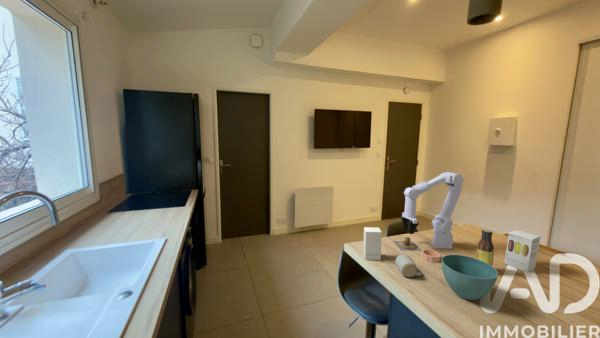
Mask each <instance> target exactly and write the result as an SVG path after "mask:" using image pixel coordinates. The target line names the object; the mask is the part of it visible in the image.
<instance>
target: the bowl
mask: <svg viewBox="0 0 600 338" xmlns="http://www.w3.org/2000/svg"><path fill="white" fill-rule="evenodd" d="M421 250H422V251H420V253H421V254H420V257H421V258H422V260H424V261H426V262H429V263H432V264H433V263H441V259H442V258H441V257H442V256H441V253H440V252H438V251H436V250H433V249H431V248H430V249H429V248H423V249H421Z"/></svg>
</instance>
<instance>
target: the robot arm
mask: <svg viewBox="0 0 600 338" xmlns="http://www.w3.org/2000/svg"><path fill="white" fill-rule="evenodd" d="M464 181H465V179H464V177H463V175H462V174H460V173H456V172H450V171H444V172H442V173H440V174H439V175H437V176H436V177H434V178H432V179H431V180H429V181H419V183H418V184H416V185H412V187H406V188H405V189H404V191H403V195H404V198H405V201H404V211H403V212H401V216H400V220H401V223H402V227H403V230H408V233H409V235H414V234H415V231H416V229H417V227H418V226H419V222H418V219H417V217H416V210H417V209H416V208H417V199H418V198H419V197H420V195H423V194H425V193H426V192H429V191H430V188H433V187H435V186H438V185H440V184H442V183H444V184H446V186H447V187H448V189H449V190H448V193H447V195H446V198H445V200H444V203H443V205H442V208H441V211H440V212H439V214H436V215H435V217H434V218H433V219H432V221H431V226H432V227H433V228H432V229H433V236H432V241H429V243H430V244H431V245H432V246H434V248H436V249H445V250H446V249H449V250H450V249H451V250H452V249H453V241H454V237H453V233H452V232H451V231H452V230H453V229H452V228H453V227H452V226H453V221H452V214H453V213H454V210H455V207H456V205H457V203H458V200H459V197H460V195H461V193H462V191H463V183H464Z"/></svg>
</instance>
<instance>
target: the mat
mask: <svg viewBox="0 0 600 338" xmlns="http://www.w3.org/2000/svg"><path fill="white" fill-rule="evenodd" d="M400 241H401V240H397V241H396V240H395V241H392V242H393V243H394V244H395V245H396V246H397V247H398V249H399V250H400V251H403V252H404V251H407V252H408V251H409V252H412V251H414V252H421V251H422V250H423V249H421V248H420V247H419V246H418V245H417V244H416V243H415V242H414V241H410V242H411V243H414V244H415V245H416V249H413V250H409V249H404V248H402V247H400V246H399V245H398V243H399V242H400Z"/></svg>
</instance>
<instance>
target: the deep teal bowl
mask: <svg viewBox="0 0 600 338" xmlns="http://www.w3.org/2000/svg"><path fill="white" fill-rule="evenodd" d="M441 257H442V258H441V268H442V273H443V275H444V276H443V277H444V278H445V281H446V282H447V284H448V287H450V289H451V290H452V292H453V293H454V294H455V295H456V296H458V297H460V298H462V299H465V300H469V301H477V300H480V299H481V298H484V297H485V296H486V295H488V294H489V293H490V292H491V290H493V288H494V286H495V285H496V283H497V280H498V276H499V273H498V271H497V269H496V268H494V267H493V266H490V265H489V264H487V263H485V262H483V261H481V260H478V259H476V258H474V257H471V256H467V255H461V254H445V255H444V256H441Z"/></svg>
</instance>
